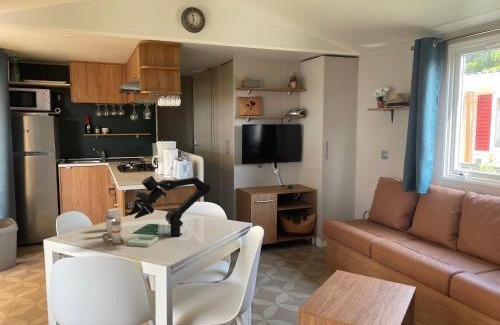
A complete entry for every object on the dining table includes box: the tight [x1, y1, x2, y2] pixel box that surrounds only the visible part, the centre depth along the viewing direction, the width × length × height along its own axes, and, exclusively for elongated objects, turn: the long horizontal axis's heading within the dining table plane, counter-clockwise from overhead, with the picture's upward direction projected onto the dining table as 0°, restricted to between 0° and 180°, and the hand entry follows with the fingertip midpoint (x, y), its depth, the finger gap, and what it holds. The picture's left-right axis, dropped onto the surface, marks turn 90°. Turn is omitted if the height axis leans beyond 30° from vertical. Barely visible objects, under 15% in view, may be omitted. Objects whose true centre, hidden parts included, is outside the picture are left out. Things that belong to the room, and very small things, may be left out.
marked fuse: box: [111, 221, 122, 244], centre depth 209 cm, size 5×5×12 cm
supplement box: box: [105, 207, 123, 230], centre depth 237 cm, size 8×5×13 cm, turn 135°
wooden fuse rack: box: [102, 233, 129, 247], centre depth 217 cm, size 24×11×1 cm, turn 29°
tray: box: [127, 235, 159, 248], centre depth 210 cm, size 12×12×2 cm
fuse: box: [106, 215, 115, 237], centre depth 223 cm, size 5×5×12 cm
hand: (132, 216), depth 210 cm, fingers open, 9 cm apart
